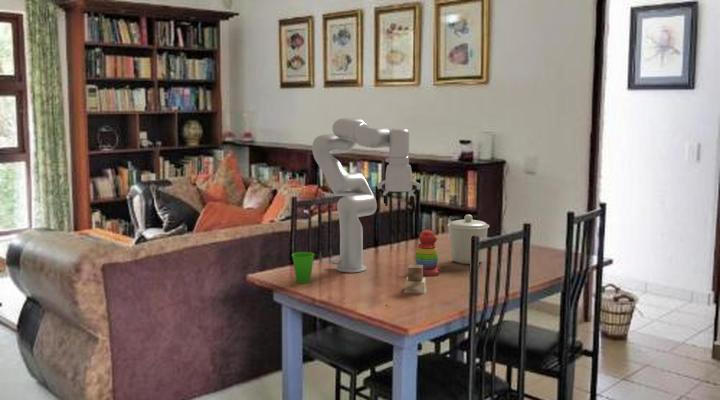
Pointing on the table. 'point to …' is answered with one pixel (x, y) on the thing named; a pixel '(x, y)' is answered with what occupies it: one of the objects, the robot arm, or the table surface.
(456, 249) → the canister
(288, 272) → the table surface
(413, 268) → the walnut cube
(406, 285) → the oak base block
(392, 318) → the table surface
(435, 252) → the stacking bear
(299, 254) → the cup
